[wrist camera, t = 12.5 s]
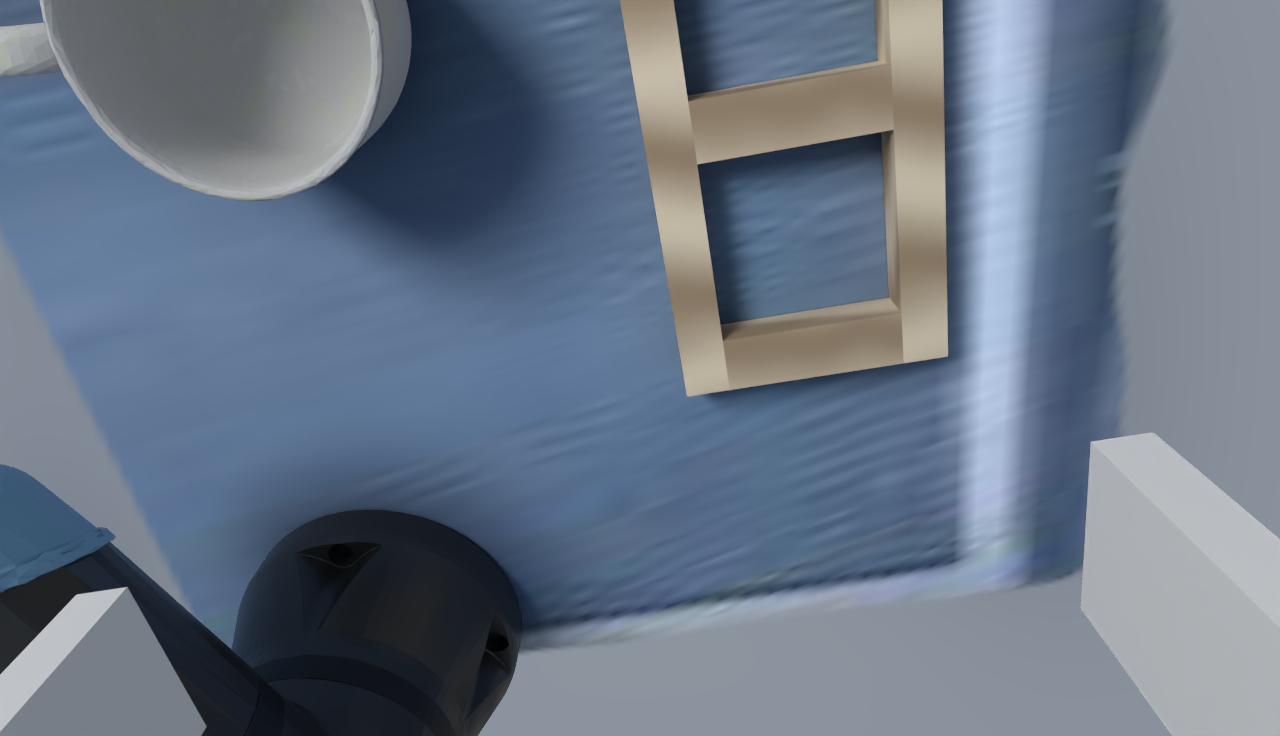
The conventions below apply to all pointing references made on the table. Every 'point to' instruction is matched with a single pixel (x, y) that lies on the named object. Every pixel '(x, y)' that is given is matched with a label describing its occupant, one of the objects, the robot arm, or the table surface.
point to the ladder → (786, 118)
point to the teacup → (226, 82)
